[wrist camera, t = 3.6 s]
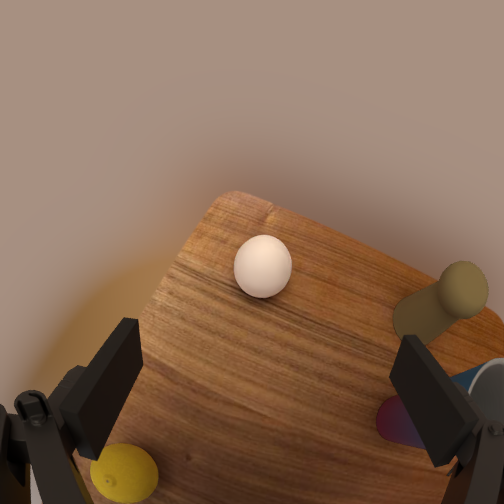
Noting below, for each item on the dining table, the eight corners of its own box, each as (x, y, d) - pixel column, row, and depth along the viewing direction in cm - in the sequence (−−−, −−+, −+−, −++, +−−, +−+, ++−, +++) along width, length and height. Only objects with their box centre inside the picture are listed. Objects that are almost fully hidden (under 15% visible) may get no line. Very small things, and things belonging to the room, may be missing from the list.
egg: (245, 252, 34) (247, 211, 27) (292, 269, 34) (306, 231, 27) (226, 296, 32) (223, 262, 25) (276, 314, 31) (287, 285, 24)
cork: (428, 355, 29) (493, 327, 19) (385, 333, 30) (442, 295, 21) (441, 310, 32) (500, 269, 22) (402, 287, 33) (454, 238, 23)
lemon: (175, 457, 24) (154, 472, 17) (154, 500, 21) (128, 526, 14) (124, 429, 25) (89, 433, 18) (104, 472, 22) (66, 486, 15)
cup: (402, 374, 28) (501, 337, 15) (434, 418, 26) (537, 403, 13) (355, 416, 26) (446, 411, 13) (390, 462, 24) (489, 479, 11)
